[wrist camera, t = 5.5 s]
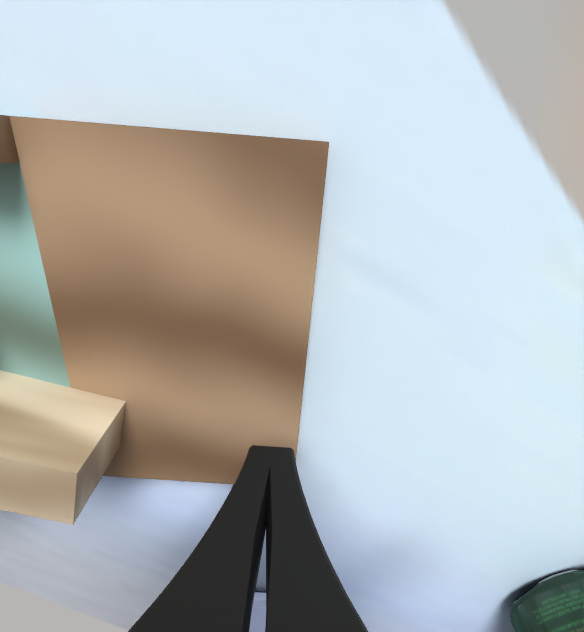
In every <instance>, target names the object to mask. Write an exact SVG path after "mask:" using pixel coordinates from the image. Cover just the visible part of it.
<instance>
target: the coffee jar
mask: <svg viewBox="0 0 584 632" xmlns="http://www.w3.org/2000/svg"><path fill="white" fill-rule="evenodd" d="M511 622H512V625H513V627H514V629H515V632H584V570H569V571H565V572H561V573H558V574H555V575H552V576H550V577H547V578H545V579H543V580H542V581H540V582H539V583H538V584H537V585H536V586H535V587H534V588H532V589H531V590H529V591H528V592H527V593H525V594H524V595H523V596H521V597H520V598H519V599H518V600H516V601H514V602H513V604H512V606H511Z"/></svg>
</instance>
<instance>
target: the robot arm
mask: <svg viewBox="0 0 584 632" xmlns="http://www.w3.org/2000/svg"><path fill="white" fill-rule="evenodd" d="M265 530H266V593H261V592H255V588H256V582H257V577H258V571H259V565H260V559H261V553H262V547H263V542H264V536H265ZM128 632H368V631H367V629H366V627H365V625H364V624H363V622H362V620H361V618H360V617H359V615H358V613H357V611H356V610H355V608H354V606H353V604H352V603H351V601H350V599H349V597H348V596H347V594H346V592H345V590H344V588H343V586H342V584H341V582H340V580H339V578H338V576H337V574H336V572H335V570H334V568H333V566H332V564H331V562H330V560H329V558H328V556H327V553H326V551H325V549H324V547H323V544H322V542H321V540H320V537H319V535H318V532H317V530H316V527H315V525H314V522H313V520H312V517H311V514H310V511H309V508H308V505H307V502H306V500H305V497H304V494H303V490H302V487H301V483H300V479H299V476H298V471H297V467H296V462H295V454H294V450H293V449H292V448H287V447H272V446H258V445H253V446H251V447H250V448H249V450H248V454H247V457H246V459H245V462H244V464H243V467H242V469H241V471H240V473H239V475H238V477H237V480H236V482H235V484H234V485H233V487H232V489H231V491H230V493H229V495H228V497H227V499H226V500H225V502H224V504H223V506H222V507H221V509H220V511H219V512H218V514H217V516H216V517H215V519H214V520H213V522H212V524H211V525H210V527H209V529H208V530H207V532H206V533H205V535H204V536H203V538H202V539H201V541H200V542H199V544H198V545H197V547H196V548H195V549H194V551H193V552H192V554H191V555H190V556H189V558H188V559H187V561H186V562H185V563H184V565H183V566H182V567H181V569H180V570H179V571H178V572H177V574H176V575H175V576H174V578H173V579H172V580H171V582H170V583H169V584H168V585H167V587H166V588H165V589H164V590H163V592H162V593H161V594H160V595H159V597H158V598H157V599H156V600H155V601H154V602H153V604H152V605H151V606H150V607H149V608H148V609H147V610H146V612H145V613H144V614H143V615H142V616H141V617H140V619H139V620H138V621H137V622H136V623H135V624H134V625H133V627H132V628H131V629H130V630H129V631H128Z"/></svg>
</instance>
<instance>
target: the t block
mask: <svg viewBox="0 0 584 632" xmlns="http://www.w3.org/2000/svg"><path fill="white" fill-rule="evenodd" d="M125 405H126V401H123V400H119V399H115V398H111V397H107V396H103V395H99V394H95V393H91V392H86V391H82V390H78V389H74V388H70V387H66V386H62V385H58V384H54V383H50V382H46V381H42V380H38V379H34V378H29V377H25V376H21V375H17V374H13V373H9V372H5V371H1V370H0V510H4V511H9V512H14V513H19V514H24V515H29V516H33V517H38V518H43V519H48V520H53V521H58V522H63V523H67V524H72V525H73V524H74V522H75V521H76V519H77V517H78V516H79V514H80V512H81V511H82V509H83V507H84V506H85V504H86V502H87V501H88V499H89V497H90V496H91V494H92V492H93V491H94V489H95V487H96V485H97V484H98V482H99V480H100V479H101V477H102V475H103V474H104V472H105V470H106V469H107V467H108V465H109V464H110V462H111V460H112V459H113V457H114V455H115V454H116V452H117V450H118V449H119V447H120V441H121V433H122V426H123V419H124V412H125Z"/></svg>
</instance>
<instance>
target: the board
mask: <svg viewBox="0 0 584 632" xmlns="http://www.w3.org/2000/svg"><path fill="white" fill-rule="evenodd" d="M328 148H329V142H323V141H311V140H299V139H287V138H274V137H262V136H250V135H237V134H225V133H213V132H200V131H188V130H176V129H163V128H151V127H139V126H127V125H114V124H102V123H90V122H77V121H65V120H53V119H40V118H28V117H16V116H5V115H0V370H1V371H5V372H9V373H13V374H17V375H21V376H25V377H29V378H34V379H38V380H42V381H46V382H50V383H54V384H58V385H62V386H66V387H70V388H74V389H78V390H82V391H86V392H91V393H95V394H99V395H103V396H107V397H111V398H115V399H119V400H123V401H126V405H125V412H124V419H123V426H122V433H121V441H120V447H119V449H118V450H117V452H116V454H115V455H114V457H113V459H112V460H111V462H110V464H109V465H108V467H107V469H106V470H105V472H104V474H103V475H102V476H116V477H131V478H146V479H161V480H176V481H191V482H206V483H221V484H235V482H236V480H237V477H238V475H239V473H240V471H241V469H242V467H243V464H244V462H245V459H246V457H247V454H248V450H249V448H250V447H251V446H253V445H258V446H272V447H287V448H292V449H293V450H294V454H295V461H296V452H297V442H298V433H299V423H300V414H301V404H302V395H303V385H304V376H305V366H306V357H307V347H308V338H309V328H310V319H311V309H312V300H313V290H314V281H315V271H316V262H317V252H318V243H319V233H320V224H321V214H322V205H323V195H324V186H325V176H326V167H327V157H328Z"/></svg>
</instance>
